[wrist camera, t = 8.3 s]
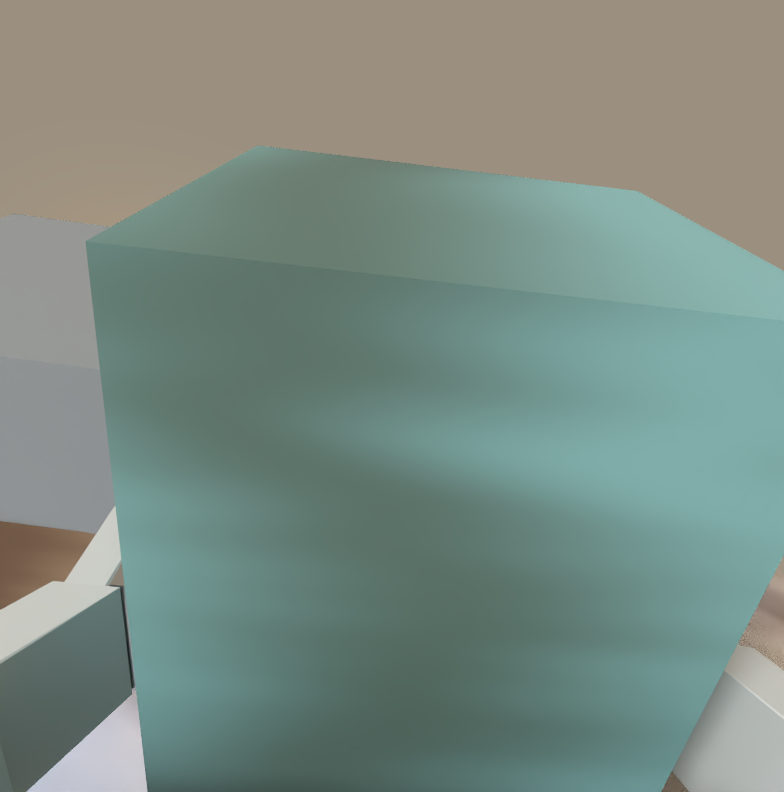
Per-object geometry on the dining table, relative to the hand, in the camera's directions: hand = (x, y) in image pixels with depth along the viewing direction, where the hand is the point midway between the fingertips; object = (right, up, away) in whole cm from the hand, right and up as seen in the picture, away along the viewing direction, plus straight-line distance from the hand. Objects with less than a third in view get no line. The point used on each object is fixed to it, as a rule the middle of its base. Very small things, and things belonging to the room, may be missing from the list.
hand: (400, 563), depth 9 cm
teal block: (-1, -6, +2) cm, 7 cm away
